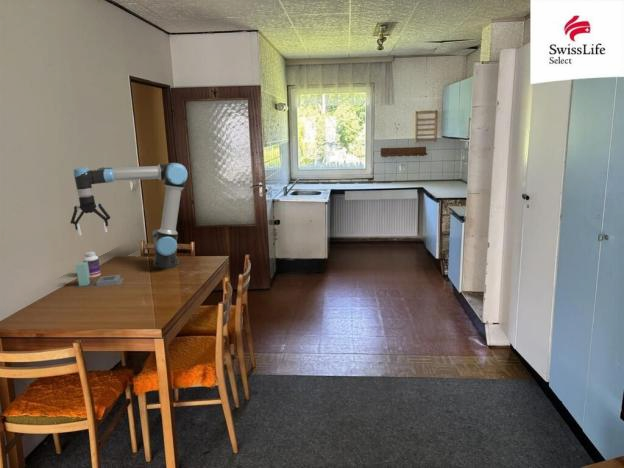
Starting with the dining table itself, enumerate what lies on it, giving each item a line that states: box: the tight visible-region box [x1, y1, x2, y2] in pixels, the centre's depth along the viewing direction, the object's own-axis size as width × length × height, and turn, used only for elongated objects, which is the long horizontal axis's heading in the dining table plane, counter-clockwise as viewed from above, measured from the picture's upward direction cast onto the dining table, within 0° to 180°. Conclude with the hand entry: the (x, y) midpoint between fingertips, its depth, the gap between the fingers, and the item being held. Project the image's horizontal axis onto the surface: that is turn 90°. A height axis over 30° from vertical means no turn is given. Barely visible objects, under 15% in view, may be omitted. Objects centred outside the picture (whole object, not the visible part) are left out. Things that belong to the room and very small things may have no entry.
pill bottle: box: [82, 251, 102, 278], centre depth 276 cm, size 8×8×14 cm
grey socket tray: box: [93, 274, 124, 288], centre depth 262 cm, size 14×11×3 cm
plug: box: [75, 261, 91, 286], centre depth 259 cm, size 4×4×12 cm
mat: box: [73, 280, 96, 289], centre depth 261 cm, size 9×9×1 cm
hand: (93, 233), depth 261 cm, fingers open, 13 cm apart
